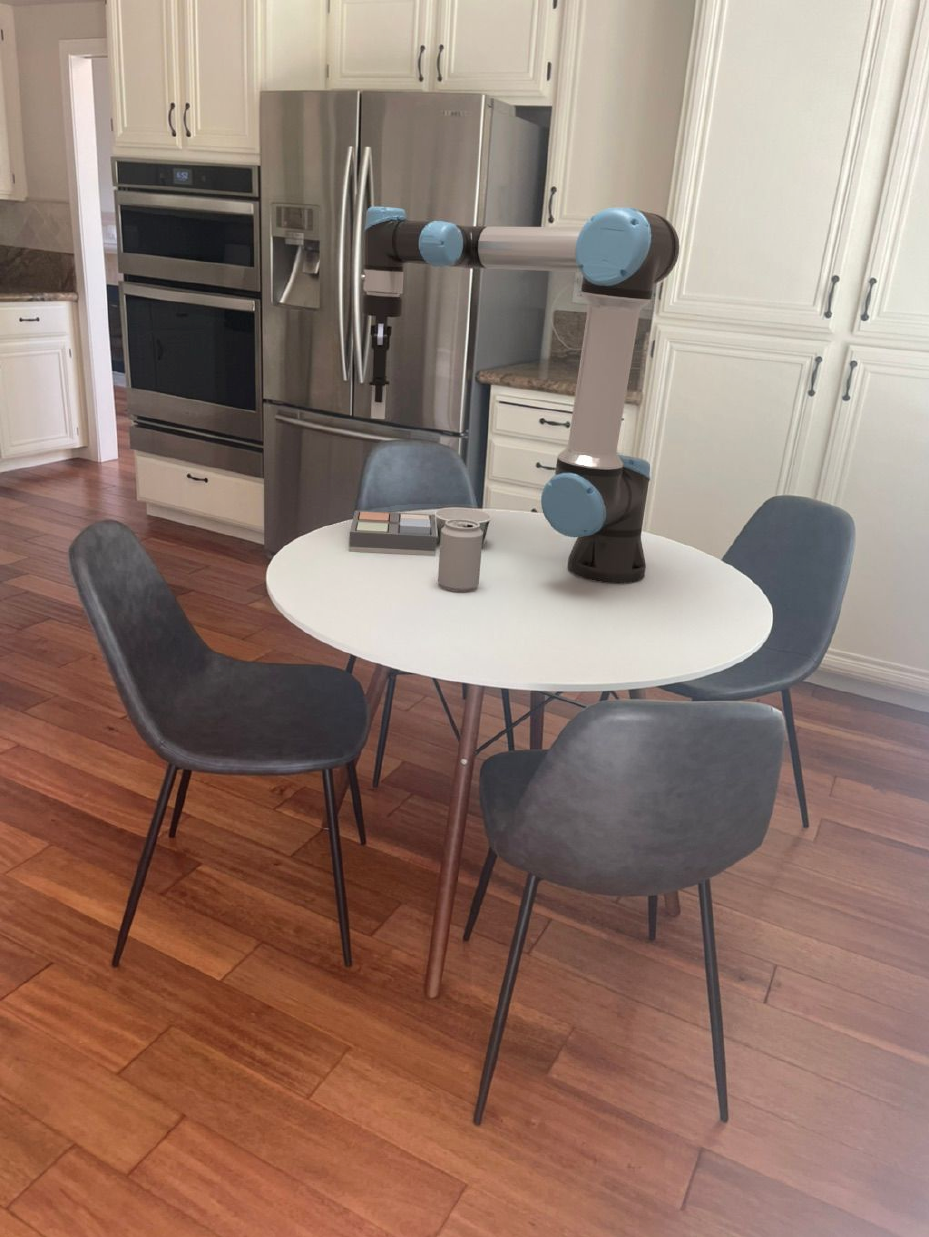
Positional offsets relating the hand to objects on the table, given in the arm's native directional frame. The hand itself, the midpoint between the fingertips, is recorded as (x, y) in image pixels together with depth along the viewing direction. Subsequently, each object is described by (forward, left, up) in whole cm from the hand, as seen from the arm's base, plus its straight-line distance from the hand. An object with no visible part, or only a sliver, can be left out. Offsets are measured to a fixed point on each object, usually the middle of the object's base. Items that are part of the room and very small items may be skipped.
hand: (377, 418), depth 189 cm
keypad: (-4, +4, -24) cm, 25 cm away
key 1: (0, +8, -23) cm, 24 cm away
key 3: (-9, +9, -21) cm, 25 cm away
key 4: (-9, 0, -23) cm, 24 cm away
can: (-17, +31, -25) cm, 43 cm away
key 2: (0, 0, -23) cm, 23 cm away
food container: (-18, +4, -25) cm, 31 cm away
